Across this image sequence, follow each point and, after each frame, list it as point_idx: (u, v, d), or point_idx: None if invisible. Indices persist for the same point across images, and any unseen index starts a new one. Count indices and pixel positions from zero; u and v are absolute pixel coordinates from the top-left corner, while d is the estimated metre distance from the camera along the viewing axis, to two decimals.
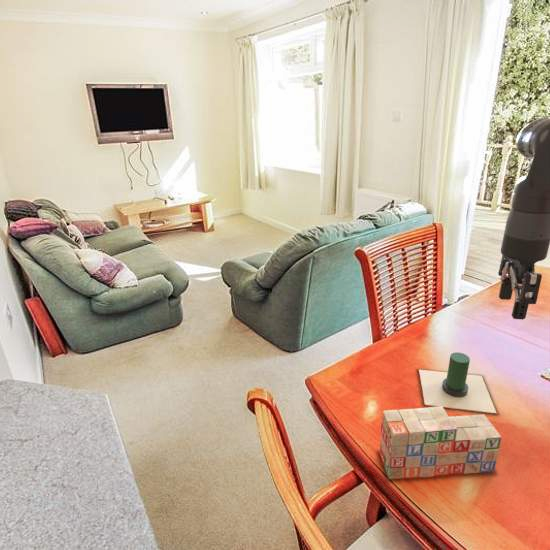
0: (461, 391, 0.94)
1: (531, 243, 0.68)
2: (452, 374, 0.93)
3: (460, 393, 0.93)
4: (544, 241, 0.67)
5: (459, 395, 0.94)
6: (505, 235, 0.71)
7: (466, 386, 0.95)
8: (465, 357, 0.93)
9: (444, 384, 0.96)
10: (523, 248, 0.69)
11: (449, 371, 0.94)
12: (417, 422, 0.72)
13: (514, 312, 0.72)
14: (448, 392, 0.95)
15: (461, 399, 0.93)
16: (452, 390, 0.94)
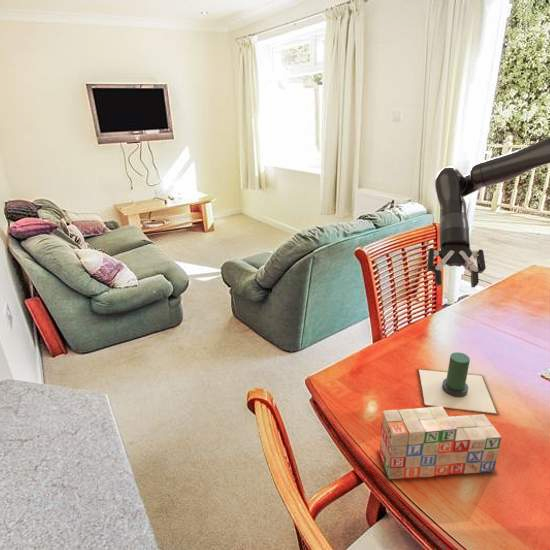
0: (461, 391, 0.94)
1: None
2: (452, 374, 0.93)
3: (460, 393, 0.93)
4: None
5: (459, 395, 0.94)
6: (458, 227, 1.02)
7: (466, 386, 0.95)
8: (465, 357, 0.93)
9: (444, 384, 0.96)
10: None
11: (449, 371, 0.94)
12: (417, 422, 0.72)
13: (475, 280, 0.99)
14: (448, 392, 0.95)
15: (461, 399, 0.93)
16: (452, 390, 0.94)
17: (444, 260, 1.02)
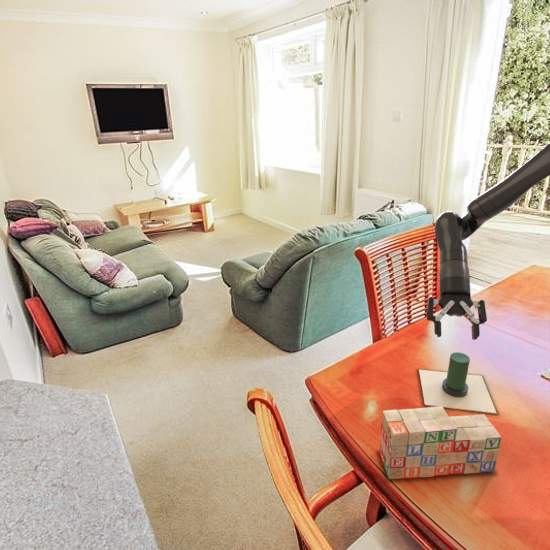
0: (461, 391, 0.94)
1: None
2: (452, 374, 0.93)
3: (460, 393, 0.93)
4: None
5: (459, 395, 0.94)
6: (458, 277, 0.99)
7: (466, 386, 0.95)
8: (465, 357, 0.93)
9: (444, 384, 0.96)
10: (469, 285, 1.00)
11: (449, 371, 0.94)
12: (417, 422, 0.72)
13: (476, 333, 0.96)
14: (448, 392, 0.95)
15: (461, 399, 0.93)
16: (452, 390, 0.94)
17: (444, 310, 0.99)
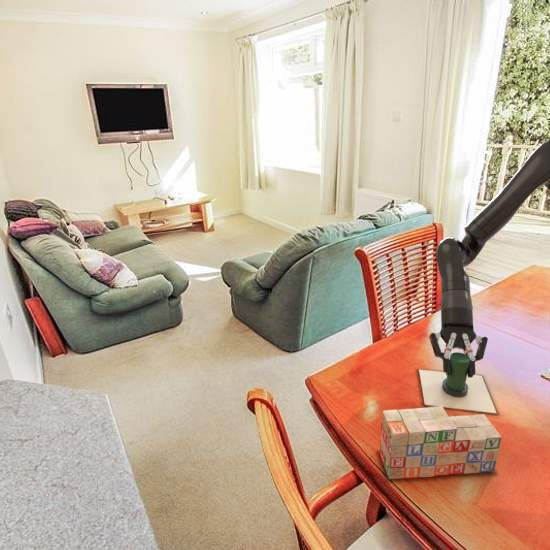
0: (461, 391, 0.94)
1: None
2: (452, 374, 0.93)
3: (460, 393, 0.93)
4: None
5: (459, 395, 0.94)
6: (461, 308, 0.95)
7: (466, 386, 0.95)
8: (465, 357, 0.93)
9: (444, 384, 0.96)
10: (472, 316, 0.96)
11: None
12: (417, 422, 0.72)
13: (472, 371, 0.92)
14: (448, 392, 0.95)
15: (461, 399, 0.93)
16: (452, 390, 0.94)
17: (446, 343, 0.94)
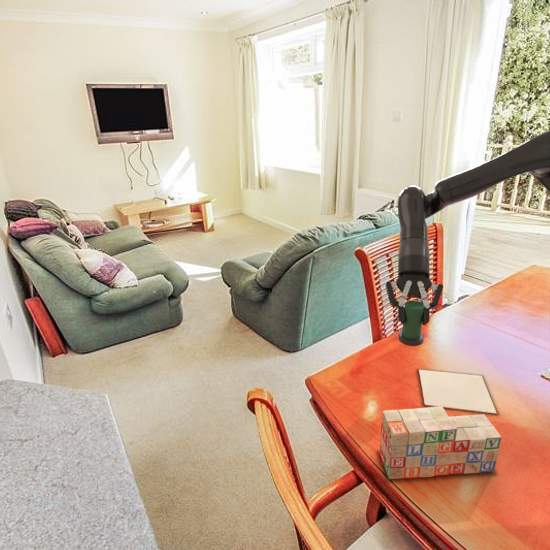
0: (416, 340, 0.92)
1: None
2: (406, 322, 0.91)
3: (415, 342, 0.91)
4: None
5: (414, 344, 0.91)
6: (416, 255, 0.93)
7: (422, 335, 0.93)
8: (419, 304, 0.90)
9: (400, 334, 0.94)
10: None
11: (404, 319, 0.92)
12: (417, 422, 0.72)
13: (426, 318, 0.89)
14: (403, 341, 0.93)
15: (461, 399, 0.93)
16: (407, 339, 0.92)
17: (401, 291, 0.92)
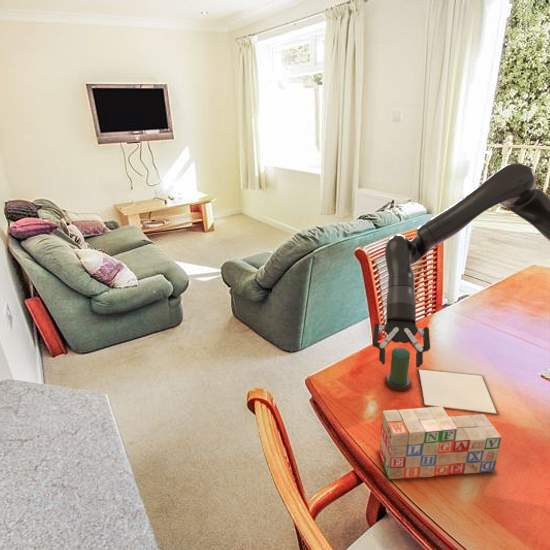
0: (402, 385, 0.97)
1: (415, 309, 1.00)
2: (394, 368, 0.97)
3: (401, 387, 0.97)
4: None
5: (400, 389, 0.97)
6: (403, 303, 0.98)
7: (408, 380, 0.99)
8: (406, 352, 0.96)
9: (388, 378, 1.00)
10: (415, 311, 0.99)
11: (391, 366, 0.98)
12: (417, 422, 0.72)
13: (419, 361, 0.95)
14: (391, 386, 0.98)
15: (461, 399, 0.93)
16: (394, 384, 0.98)
17: (388, 338, 0.98)
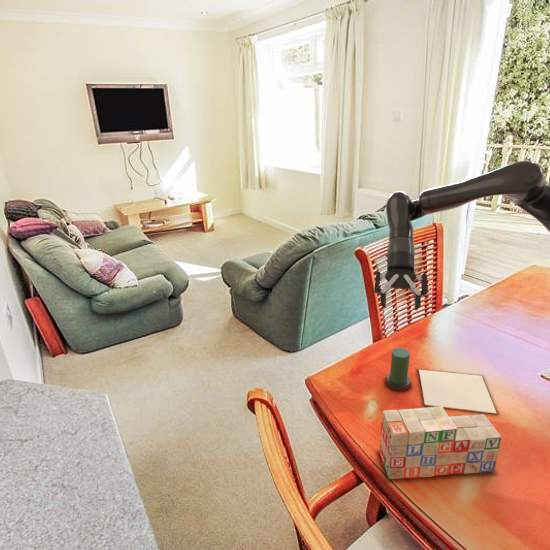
0: (402, 385, 0.97)
1: None
2: (394, 368, 0.97)
3: (401, 387, 0.97)
4: None
5: (400, 389, 0.97)
6: (403, 252, 1.06)
7: (408, 380, 0.99)
8: (406, 352, 0.96)
9: (388, 378, 1.00)
10: None
11: (391, 366, 0.98)
12: (417, 422, 0.72)
13: (418, 303, 1.02)
14: (391, 386, 0.98)
15: (461, 399, 0.93)
16: (394, 384, 0.98)
17: (389, 283, 1.05)
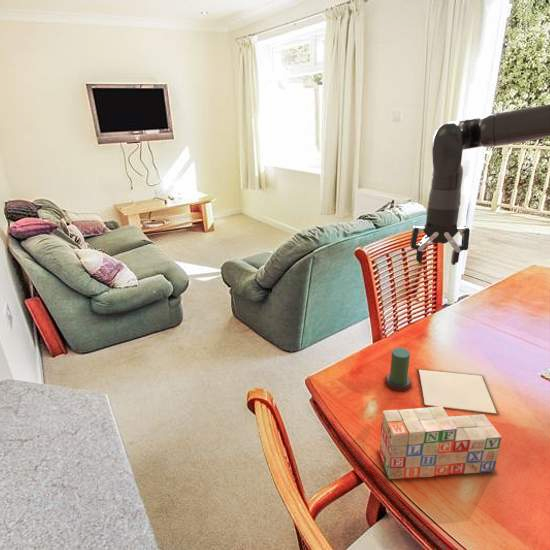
0: (402, 385, 0.97)
1: (458, 209, 0.96)
2: (394, 368, 0.97)
3: (401, 387, 0.97)
4: None
5: (400, 389, 0.97)
6: (446, 210, 0.93)
7: (408, 380, 0.99)
8: (406, 352, 0.96)
9: (388, 378, 1.00)
10: None
11: (391, 366, 0.98)
12: (417, 422, 0.72)
13: (455, 260, 1.00)
14: (391, 386, 0.98)
15: (461, 399, 0.93)
16: (394, 384, 0.98)
17: (427, 242, 1.00)
